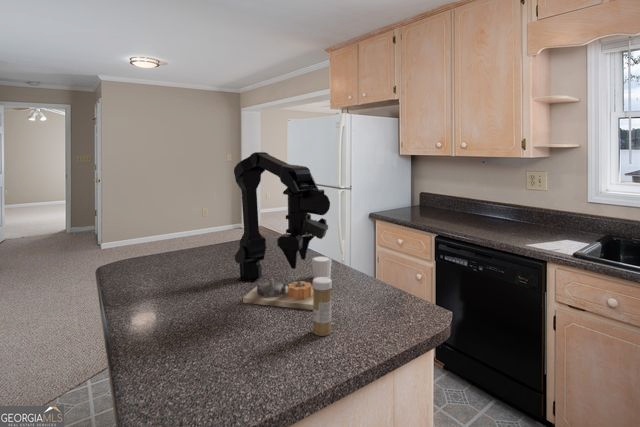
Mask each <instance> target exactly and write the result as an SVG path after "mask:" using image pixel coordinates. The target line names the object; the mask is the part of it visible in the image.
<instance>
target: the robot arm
mask: <svg viewBox="0 0 640 427" xmlns="http://www.w3.org/2000/svg"><path fill="white" fill-rule="evenodd" d="M265 171H267V172H269V173H271V174H272V175H275V176H276V177H278V179H279V180H280V182H281V183H282V184H283V185H284V186H285V187H286V189H284V190H283V192H282V194H283V195H285V196H286V195H287V214H286V215H285V220H287V227H288V228H287V229H285V233H283V234H282V235H281V236H279V237H278V238H277V239H276V246H277V247H278V248H279V249H280V250H281V251H282V253H283V254H284V256H285V258H286V260H287V262H288V264H289V266H290V268H291V269H292V270H293V269H294V270H295V269H296V268H297V260H298V255H299V256H300V259H301V260H303V261H304V260H306V259H307V254H308V249H309V245H310V242H311V241H312V240H313V239H314V238H315V237H316V238H317V239H320V240H323V238H324V237H325V236H326V234H327V231H328V230H329V225H328V224H327V219H325V218H323V217H321V218H320V219H319V220H318V221H317V219H312V215H317V216H325V215H326V214H327V213H328V212H329V210H330V207H331V201H330V199H329V196H328V195H326V194H325V189H319V187H318V185H317V183H316V181H315V179H314V177H313V174H312V173H311V172H310V171H311V170H310V168H308V166H303V165H297V164H289V163H287V162H285V161H283V160H281V159H279V158H276V157H275V156H272V155H270V154H269V152H265V151H258V152H256V151H255V152H252V153H251V155H250V156H248V157H246V158H244V159H242V160H240V161H239V162H238V163H237V164H236V165H235V167H234V168H233V173H234V179H235V183H236V184H237V186H238V187H239V189H240V190H241V204H242V206H241V208H242V220H243V222H242V223H243V234H242V236H241V238H240V240H239V249H238V250H237V251H236V253H235V254H234V261H235V263H237V264H239V277H238V278H237V280H238V281H243V282H244V281H245V282H257V281H258V280H260V278H262V277H263V274H262V273H263V272H262V270H263V269H262V264H261V261H264V260H265V259H264V258H265V256H266V251H267V250H266V249H267V244H266V241H267V240H266V238H265V236H263V235H262V234H261V232H260V227H259V225H260V224H259V210H258V208H259V207H258V193H257V190H258V187H259V185H260V184H261V181H262V180H261V179H262V174H263V173H265Z"/></svg>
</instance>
